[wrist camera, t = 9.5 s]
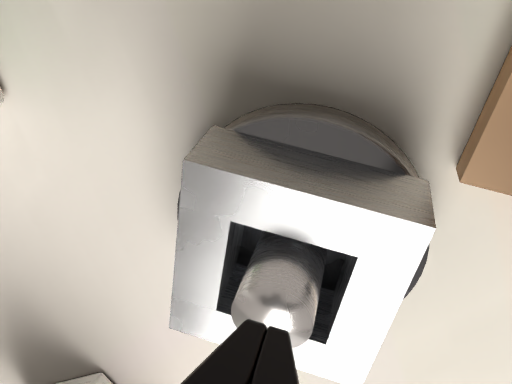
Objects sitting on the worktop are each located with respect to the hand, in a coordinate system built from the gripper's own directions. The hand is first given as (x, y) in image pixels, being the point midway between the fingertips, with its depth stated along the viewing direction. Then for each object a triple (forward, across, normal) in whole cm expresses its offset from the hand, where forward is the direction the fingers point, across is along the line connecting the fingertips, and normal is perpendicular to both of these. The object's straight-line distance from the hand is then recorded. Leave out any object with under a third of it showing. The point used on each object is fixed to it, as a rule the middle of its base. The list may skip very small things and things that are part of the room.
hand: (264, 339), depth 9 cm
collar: (+7, 0, +3) cm, 8 cm away
